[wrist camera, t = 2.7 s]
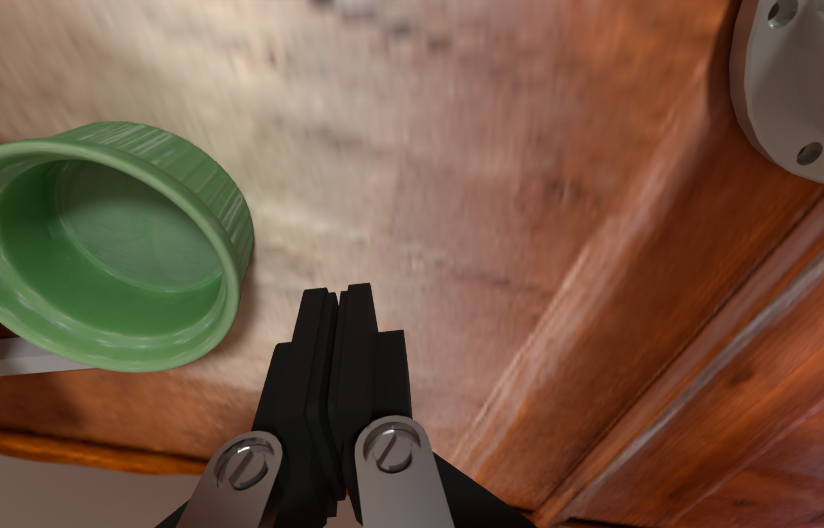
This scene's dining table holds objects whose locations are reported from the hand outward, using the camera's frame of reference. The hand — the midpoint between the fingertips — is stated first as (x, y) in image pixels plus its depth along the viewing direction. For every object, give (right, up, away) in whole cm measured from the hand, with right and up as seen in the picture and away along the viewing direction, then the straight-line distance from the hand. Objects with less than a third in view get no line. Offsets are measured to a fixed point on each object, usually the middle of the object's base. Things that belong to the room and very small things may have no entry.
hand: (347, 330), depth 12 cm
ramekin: (-9, +4, +7) cm, 12 cm away
